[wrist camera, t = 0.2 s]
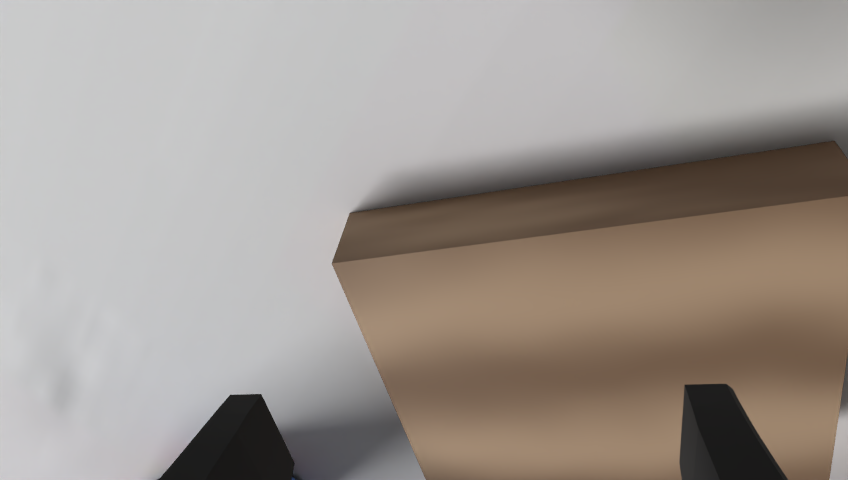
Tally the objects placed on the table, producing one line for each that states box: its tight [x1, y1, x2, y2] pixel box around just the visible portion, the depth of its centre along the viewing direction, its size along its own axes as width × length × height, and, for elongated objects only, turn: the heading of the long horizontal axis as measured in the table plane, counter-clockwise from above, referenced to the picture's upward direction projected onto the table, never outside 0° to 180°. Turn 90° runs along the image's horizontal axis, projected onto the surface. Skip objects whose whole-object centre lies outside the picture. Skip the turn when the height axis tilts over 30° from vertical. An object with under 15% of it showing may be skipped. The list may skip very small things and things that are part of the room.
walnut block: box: [332, 141, 848, 480], centre depth 23 cm, size 12×14×3 cm
